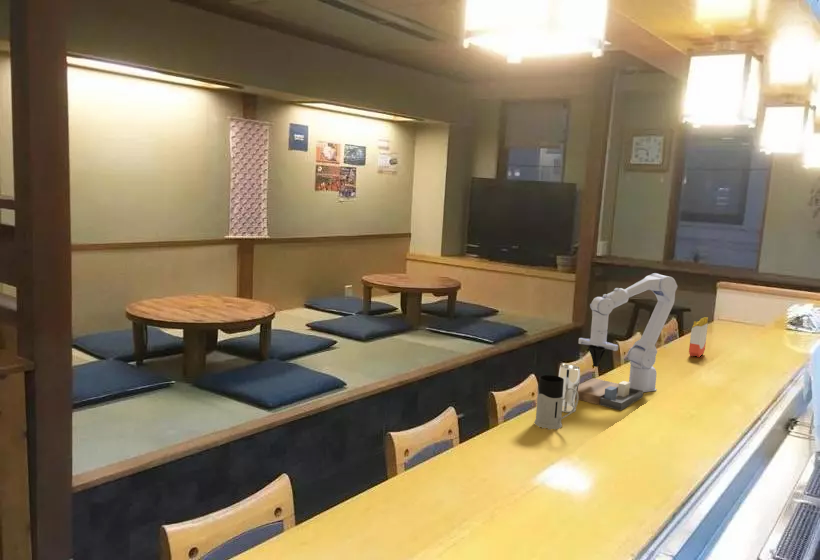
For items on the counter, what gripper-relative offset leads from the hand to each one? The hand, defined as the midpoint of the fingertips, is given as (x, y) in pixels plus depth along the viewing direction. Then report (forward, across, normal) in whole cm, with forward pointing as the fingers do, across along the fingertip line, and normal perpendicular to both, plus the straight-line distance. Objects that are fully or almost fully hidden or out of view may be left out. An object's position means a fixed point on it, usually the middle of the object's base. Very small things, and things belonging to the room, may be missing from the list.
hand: (596, 366), depth 253 cm
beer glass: (+10, +2, -28) cm, 29 cm away
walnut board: (+9, +3, -4) cm, 11 cm away
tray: (+9, +12, -4) cm, 16 cm away
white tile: (+6, +10, 0) cm, 12 cm away
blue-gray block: (+6, +9, -10) cm, 15 cm away
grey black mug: (+10, +8, -45) cm, 47 cm away
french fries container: (+10, +11, +88) cm, 89 cm away
